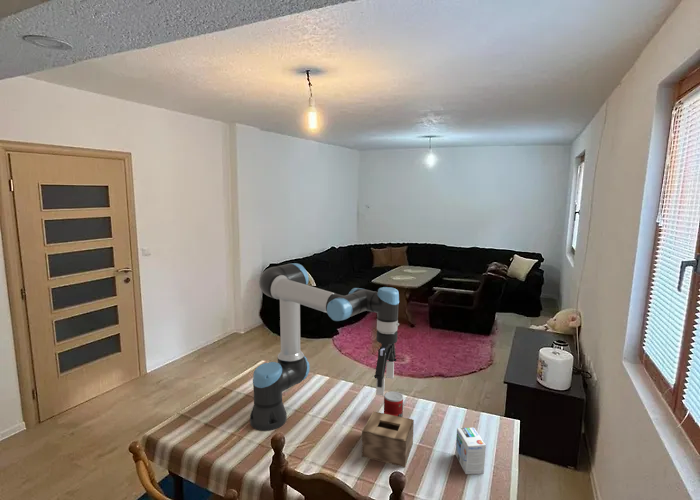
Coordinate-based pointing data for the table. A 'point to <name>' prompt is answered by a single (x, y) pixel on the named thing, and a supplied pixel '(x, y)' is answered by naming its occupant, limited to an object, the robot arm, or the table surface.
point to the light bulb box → (470, 450)
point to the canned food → (393, 404)
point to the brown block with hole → (387, 438)
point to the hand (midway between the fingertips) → (385, 385)
